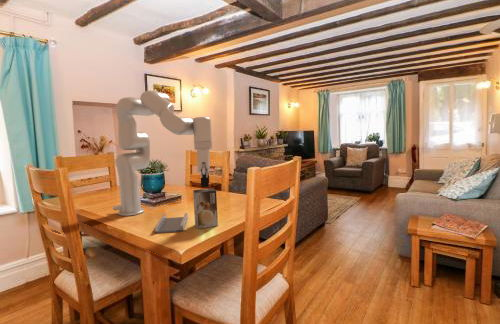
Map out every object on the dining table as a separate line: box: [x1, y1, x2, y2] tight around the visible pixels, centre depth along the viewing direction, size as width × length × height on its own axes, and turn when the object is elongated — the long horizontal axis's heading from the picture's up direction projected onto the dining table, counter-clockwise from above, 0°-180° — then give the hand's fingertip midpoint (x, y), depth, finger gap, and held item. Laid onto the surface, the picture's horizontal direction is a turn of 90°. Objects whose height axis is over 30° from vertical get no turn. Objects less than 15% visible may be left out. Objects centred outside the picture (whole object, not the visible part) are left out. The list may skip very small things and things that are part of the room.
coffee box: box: [192, 187, 219, 230], centre depth 122 cm, size 9×6×16 cm
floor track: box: [154, 212, 189, 234], centre depth 124 cm, size 11×18×3 cm, turn 7°
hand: (205, 184), depth 121 cm, fingers open, 9 cm apart
